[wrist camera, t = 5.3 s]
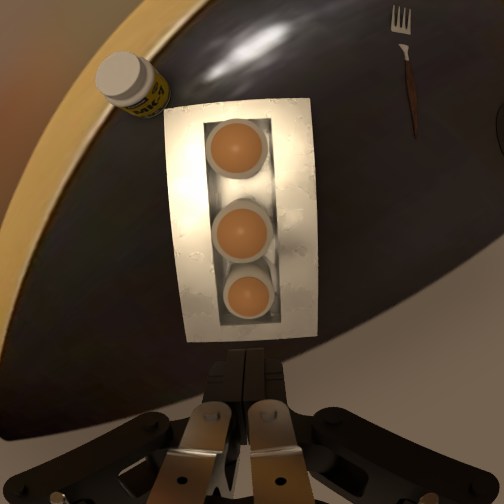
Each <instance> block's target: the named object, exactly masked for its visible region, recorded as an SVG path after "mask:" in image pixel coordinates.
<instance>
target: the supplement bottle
mask: <svg viewBox="0 0 504 504" xmlns="http://www.w3.org/2000/svg"><path fill="white" fill-rule="evenodd" d="M95 82H96V86H97V88H98V90H99V91H100V92H101V93H102V94H104V95H105V97H106V99H107V100H108V101H109V102H110V103H111V104H113V105H115V106H117V107H119V108H121V109H123V110H125V111H127V112H128V113H130V114H132V115H134V116H136V117H139V118H151V117H154V116H156V115H158V114H159V113H161V112H162V111H163V110H164V108H165V107H166V106H167V104H168V102H169V100H170V95H171V91H170V87H169V84H168V83H167V81H166V80H165V79H164V78H163V77H162V76H161V74H160V73H159V72H158V71H157V70H156V69H155V68H154V67H153V66H152V65H151V63H150V62H148V61H147V60H146V59H144V58H142V57H138V56H136V55H135V54H133V53H131V52H128V51H120V52H116V53H114V54H112V55H110V56H108V57H107V58H106V59H105V60H104V61H103V62H102V63H101V65H100V66H99V68H98V70H97V73H96V78H95Z"/></svg>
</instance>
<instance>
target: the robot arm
mask: <svg viewBox="0 0 504 504" xmlns="http://www.w3.org/2000/svg"><path fill="white" fill-rule="evenodd" d="M497 134H498V139H499V143H500V146H501V149H502V151H503V153H504V104H503V105H502V106H501V108H500V110H499V112H498V116H497ZM247 435H248V442H249V445H250V450H251V453H250V459H251V472H252V484H253V496H249V497H245V498H240V499H233V496H234V490H235V484H236V479H237V473H238V467H239V461H240V459H239V454H240V445H247ZM144 457H145V458H146V460H145V461H144V462H142V463H140V464H139V465H137V466H135V467H133V468H132V469H130V470H128V471H127V472H125V473H123V474H121V475H120V476H118V475H119V473H120V472H121V471H122V470H124V469H125V468H127V467H129V466H130V465H132V464H134V463H136V462H137V461H139V460H140V459H142V458H144ZM307 471H309V472H310V474H311V476H312V477H314V478H315V479H316V480H318V481H319V482H321V483H322V484H324V485H325V486H327V487H328V488H330V489H331V490H333V491H334V492H336V493H337V494H339V495H341V496H342V497H344V498H345V499H347V500H348V501H350V502H352V503H353V504H492V502H493V501H494V500H495V499H496V497H497V496H498V493H499V488H500V487H499V482H498V480H497V478H496V477H495V476H494V475H493V474H491V473H490V472H487V471H484V470H481V469H479V468H476V467H473V466H470V465H468V464H465V463H462V462H460V461H457V460H455V459H452V458H450V457H447V456H445V455H442V454H440V453H437V452H435V451H432V450H430V449H428V448H425V447H423V446H420V445H418V444H416V443H414V442H412V441H409V440H407V439H405V438H403V437H401V436H398V435H396V434H394V433H392V432H390V431H388V430H386V429H384V428H382V427H379V426H377V425H375V424H373V423H371V422H369V421H367V420H365V419H363V418H361V417H359V416H357V415H355V414H353V413H351V412H349V411H347V410H345V409H343V408H339V407H328V408H324V409H321V410H319V411H318V412H316V413H315V415H314V416H306V415H301V414H298V413H295V412H294V411H292V410H291V409H290V408H289V407H288V405H287V400H286V391H285V382H284V374H283V366H282V364H281V363H280V361H279V360H278V359H277V358H273V359H264V348H252V349H247V350H246V349H233V350H228V354H227V360H226V361H216V363H215V364H214V365H213V366H212V367H211V368H210V371H209V375H208V379H207V383H206V388H205V392H204V396H203V400H202V404H200V405H198V406H197V407H196V408H195V409H194V410H193V412H192V414H191V416H190V417H188V418H185V419H180V420H175V421H169V418H168V417H167V416H166V415H164V414H162V413H159V412H147V413H144V414H141V415H139V416H137V417H135V418H134V419H132V420H130V421H128V422H126V423H124V424H123V425H121V426H119V427H117V428H115V429H113V430H111V431H109V432H107V433H106V434H104V435H102V436H100V437H98V438H96V439H94V440H92V441H90V442H88V443H86V444H84V445H82V446H80V447H78V448H76V449H74V450H71V451H69V452H67V453H65V454H63V455H61V456H59V457H57V458H54V459H52V460H50V461H48V462H45V463H43V464H41V465H39V466H36V467H34V468H32V469H29V470H27V471H25V472H22V473H20V474H17V475H15V476H13V477H11V478H9V479H8V480H7V481H6V483H5V484H4V487H3V494H4V497H5V499H6V500H7V501H8V502H9V503H10V504H328V503H326V502H323V501H319V500H315V499H314V496H313V492H312V488H311V484H310V480H309V477H308V473H307Z"/></svg>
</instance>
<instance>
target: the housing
mask: <svg viewBox="0 0 504 504" xmlns="http://www.w3.org/2000/svg"><path fill="white" fill-rule="evenodd" d="M234 118H240V119H246V120H249V121H251V122H253V123H255V124H256V125H257V126H258V127H259V128H260V129H261V130H262V131H263V133H264V134H265V136H266V139H267V142H268V154H267V158H266V160H265V163H264V165H263V166H262V168H261V170H260V171H259V172H258V173H257V174H256V175H254V176H252V177H250V178H247V179H230V178H226V177H223V176H221V175H220V174H218V173H217V172H215V171H214V170H213V168H212V167H211V166H210V164H209V163H208V160H207V157H206V152H205V146H206V141H207V138H208V136H209V134H210V132H211V131H212V130H213V129H214V128H215V127H216V126H217V125H218V124H220V123H221V122H223V121H226V120H229V119H234ZM164 128H165V149H166V166H167V180H168V193H169V205H170V216H171V226H172V236H173V245H174V254H175V262H176V270H177V278H178V285H179V293H180V300H181V307H182V313H183V320H184V326H185V332H186V338H187V342H223V341H250V340H269V339H285V338H298V337H311V336H317V323H318V236H317V202H316V180H315V161H314V145H313V131H312V119H311V107H310V98H285V99H258V100H242V101H229V102H218V103H208V104H199V105H191V106H183V107H176V108H169V109H164ZM239 198H251V199H254V200H256V201H258V202H260V203H261V204H262V205H263V206H264V207H265V209H266V211H267V213H268V215H269V218H270V221H271V224H272V228H273V238H272V242H271V245H270V247H269V249H268V250H267V251H266V253H265V254H264V255H263V256H261V257H260V258H262V259H263V260H265V261H266V263H267V264H268V266H269V268H270V271H271V278H272V284H273V291H274V300H273V304H272V306H271V308H270V309H269V310H268V311H267V312H266V313H265V314H264V315H262V316H260V317H258V318H254V319H243V318H240V317H237V316H235V315H234V314H232V313H231V312H230V311H229V310H228V308H227V307H226V305H225V303H224V299H223V291H224V287H225V284H226V280H227V277H228V273H229V270H230V267H231V265H232V263H233V262H232V261H230V260H228V259H226V258H225V257H223V256H222V255H221V254H220V253H219V252H218V251H217V249H216V248H215V246H214V243H213V240H212V234H211V231H212V225H213V222H214V219H215V218H216V216H217V215H218V213H219V212H220V211H221V210H222V209H223V208H225V207H226V206H227V205H228V204H229V203H230V202H232V201H233V200H236V199H239Z"/></svg>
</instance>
